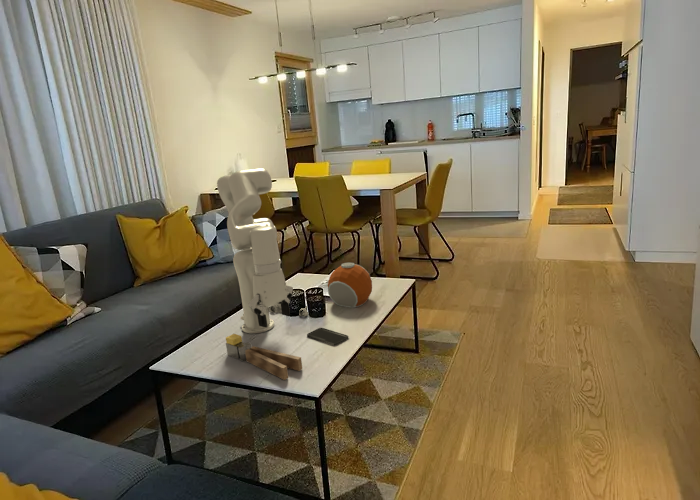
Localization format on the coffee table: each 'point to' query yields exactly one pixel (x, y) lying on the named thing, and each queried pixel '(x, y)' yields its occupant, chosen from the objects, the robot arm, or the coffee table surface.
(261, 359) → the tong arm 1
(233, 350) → the tong hinge
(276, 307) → the pale grey knobby bar
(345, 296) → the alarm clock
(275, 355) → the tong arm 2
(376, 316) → the coffee table surface
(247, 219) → the robot arm
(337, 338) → the phone
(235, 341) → the tab
